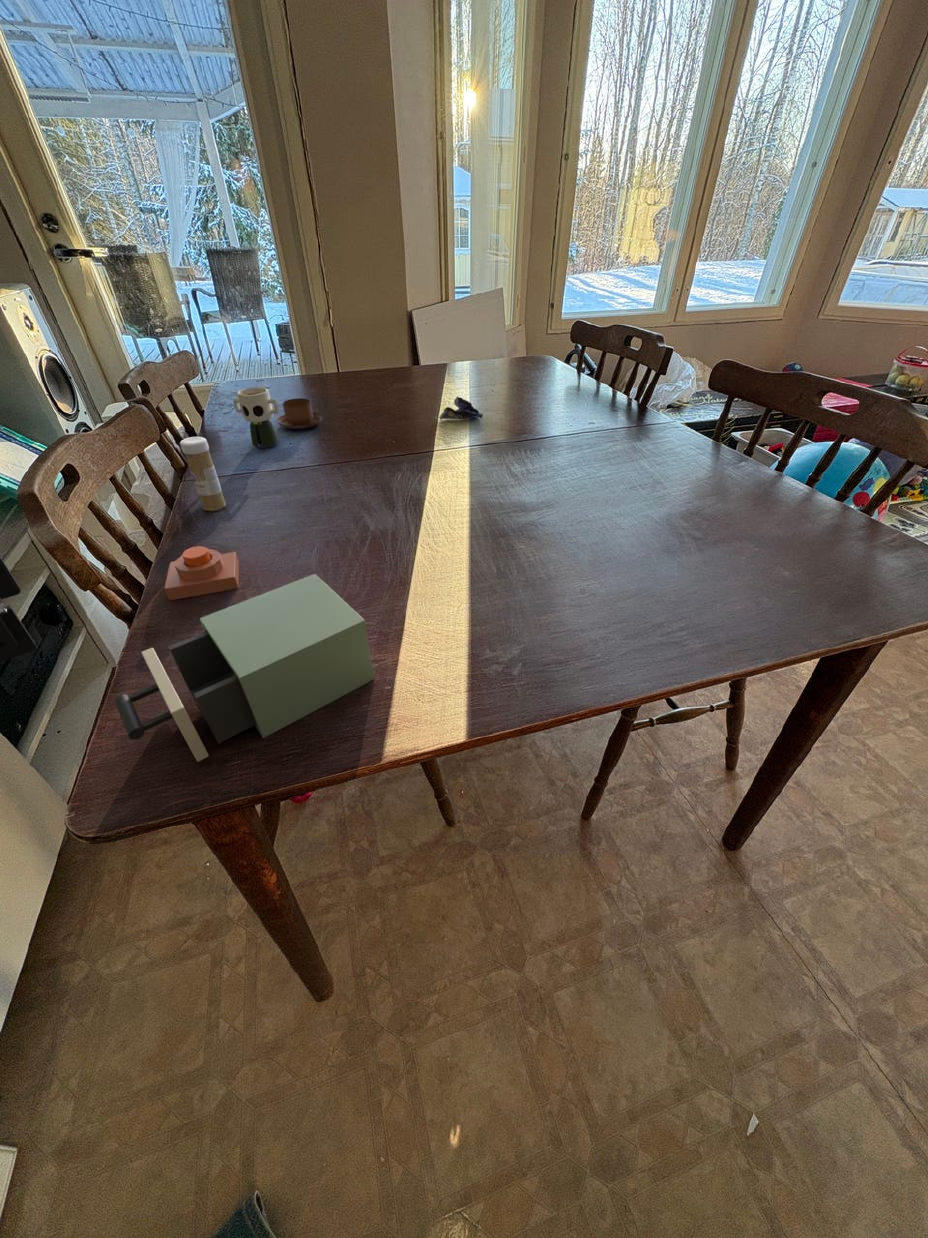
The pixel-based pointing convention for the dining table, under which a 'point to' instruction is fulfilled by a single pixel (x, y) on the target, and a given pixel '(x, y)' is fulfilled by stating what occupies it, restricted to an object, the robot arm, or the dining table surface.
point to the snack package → (460, 410)
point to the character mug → (258, 414)
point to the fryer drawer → (193, 694)
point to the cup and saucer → (298, 414)
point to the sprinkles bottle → (203, 473)
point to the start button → (196, 556)
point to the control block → (202, 576)
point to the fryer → (292, 650)
